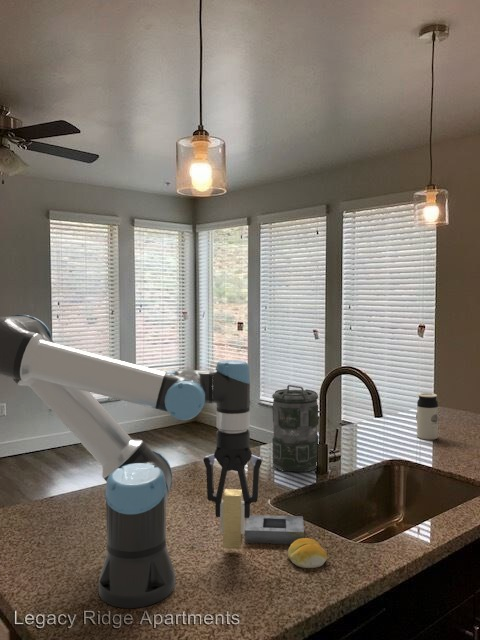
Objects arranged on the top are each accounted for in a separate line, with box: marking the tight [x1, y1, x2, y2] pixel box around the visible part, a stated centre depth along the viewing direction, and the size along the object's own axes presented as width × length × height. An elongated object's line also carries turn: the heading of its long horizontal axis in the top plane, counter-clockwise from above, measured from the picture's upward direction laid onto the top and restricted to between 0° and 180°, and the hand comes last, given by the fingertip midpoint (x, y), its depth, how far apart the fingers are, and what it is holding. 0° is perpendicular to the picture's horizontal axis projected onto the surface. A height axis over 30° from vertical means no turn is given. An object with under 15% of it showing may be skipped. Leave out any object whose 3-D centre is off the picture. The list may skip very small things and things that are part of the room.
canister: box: [271, 384, 319, 473], centre depth 183 cm, size 16×16×28 cm
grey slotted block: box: [244, 514, 305, 545], centre depth 130 cm, size 9×14×3 cm, turn 85°
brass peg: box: [222, 488, 243, 550], centre depth 121 cm, size 4×4×12 cm
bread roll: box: [287, 537, 328, 569], centre depth 118 cm, size 8×9×4 cm
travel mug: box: [416, 392, 439, 441], centre depth 219 cm, size 8×8×18 cm
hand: (232, 530), depth 121 cm, fingers closed on brass peg, 4 cm apart
